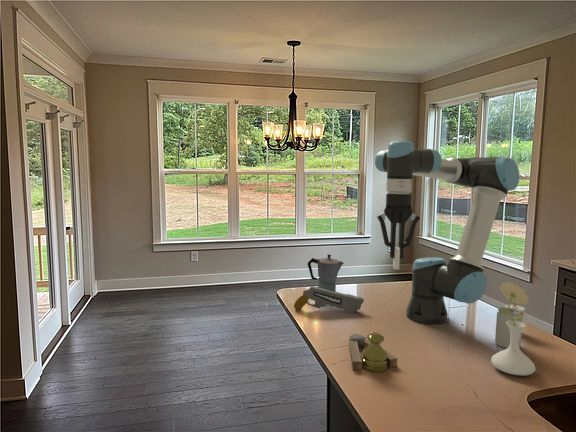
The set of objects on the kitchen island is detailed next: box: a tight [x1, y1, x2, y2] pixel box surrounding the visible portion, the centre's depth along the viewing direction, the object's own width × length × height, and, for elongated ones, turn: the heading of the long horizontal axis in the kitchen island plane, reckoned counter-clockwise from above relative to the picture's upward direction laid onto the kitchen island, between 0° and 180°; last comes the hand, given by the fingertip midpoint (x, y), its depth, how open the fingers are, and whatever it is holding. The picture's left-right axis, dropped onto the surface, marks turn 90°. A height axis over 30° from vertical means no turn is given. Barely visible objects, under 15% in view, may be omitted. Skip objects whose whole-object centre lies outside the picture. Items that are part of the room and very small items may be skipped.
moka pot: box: [307, 254, 344, 292], centre depth 181 cm, size 10×15×20 cm, turn 89°
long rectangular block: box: [362, 339, 398, 369], centre depth 128 cm, size 2×14×2 cm, turn 23°
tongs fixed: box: [348, 333, 367, 371], centre depth 129 cm, size 5×20×2 cm, turn 176°
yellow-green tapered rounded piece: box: [361, 332, 389, 373], centre depth 122 cm, size 7×8×10 cm
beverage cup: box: [504, 303, 526, 315], centre depth 147 cm, size 6×6×14 cm
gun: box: [293, 285, 365, 314], centre depth 168 cm, size 3×25×15 cm, turn 87°
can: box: [494, 307, 524, 350], centre depth 136 cm, size 8×8×12 cm
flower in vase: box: [490, 281, 537, 376], centre depth 120 cm, size 13×11×25 cm
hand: (396, 268), depth 131 cm, fingers closed
